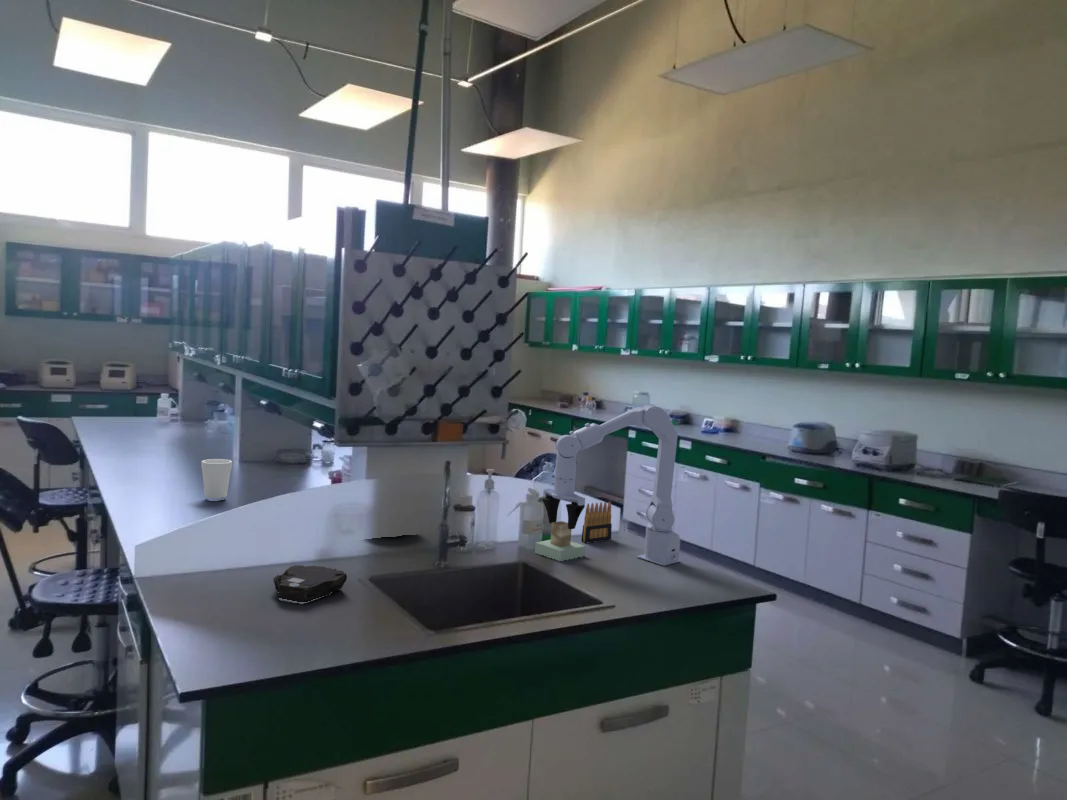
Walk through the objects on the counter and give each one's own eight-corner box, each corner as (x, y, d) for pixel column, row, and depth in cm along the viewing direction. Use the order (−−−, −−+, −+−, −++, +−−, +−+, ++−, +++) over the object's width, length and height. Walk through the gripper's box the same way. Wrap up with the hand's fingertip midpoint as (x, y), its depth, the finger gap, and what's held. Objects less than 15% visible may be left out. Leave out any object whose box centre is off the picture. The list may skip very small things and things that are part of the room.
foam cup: (236, 500, 257) (238, 461, 256) (212, 504, 249) (213, 464, 248) (219, 495, 262) (220, 458, 261) (194, 499, 254) (195, 460, 253)
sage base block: (584, 556, 215) (585, 545, 215) (560, 561, 208) (560, 550, 208) (559, 547, 222) (560, 537, 222) (534, 552, 216) (535, 542, 215)
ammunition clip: (585, 543, 229) (587, 504, 229) (581, 541, 231) (583, 502, 230) (611, 539, 236) (614, 501, 235) (607, 538, 237) (609, 500, 237)
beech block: (570, 544, 215) (571, 523, 215) (560, 546, 212) (562, 525, 212) (560, 541, 218) (561, 520, 217) (550, 543, 215) (551, 522, 215)
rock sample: (270, 583, 177) (270, 562, 176) (339, 579, 183) (340, 559, 182) (276, 609, 161) (277, 586, 160) (351, 604, 167) (352, 581, 166)
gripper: (536, 474, 216) (533, 521, 217) (573, 483, 206) (570, 533, 207) (554, 472, 221) (551, 519, 222) (591, 481, 211) (588, 530, 212)
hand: (561, 525), depth 215 cm, fingers open, 7 cm apart
